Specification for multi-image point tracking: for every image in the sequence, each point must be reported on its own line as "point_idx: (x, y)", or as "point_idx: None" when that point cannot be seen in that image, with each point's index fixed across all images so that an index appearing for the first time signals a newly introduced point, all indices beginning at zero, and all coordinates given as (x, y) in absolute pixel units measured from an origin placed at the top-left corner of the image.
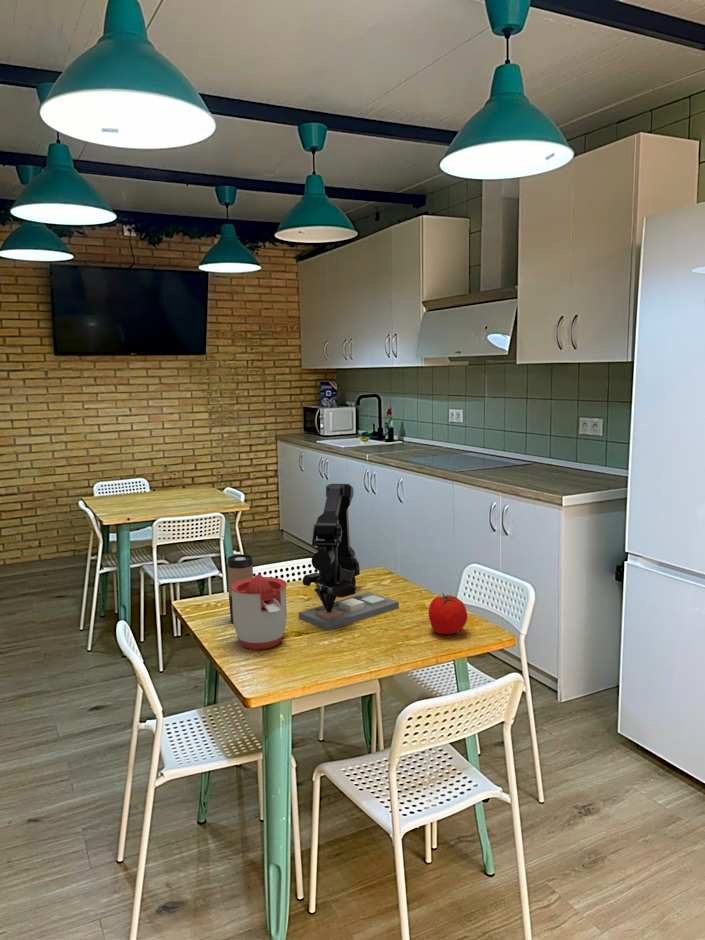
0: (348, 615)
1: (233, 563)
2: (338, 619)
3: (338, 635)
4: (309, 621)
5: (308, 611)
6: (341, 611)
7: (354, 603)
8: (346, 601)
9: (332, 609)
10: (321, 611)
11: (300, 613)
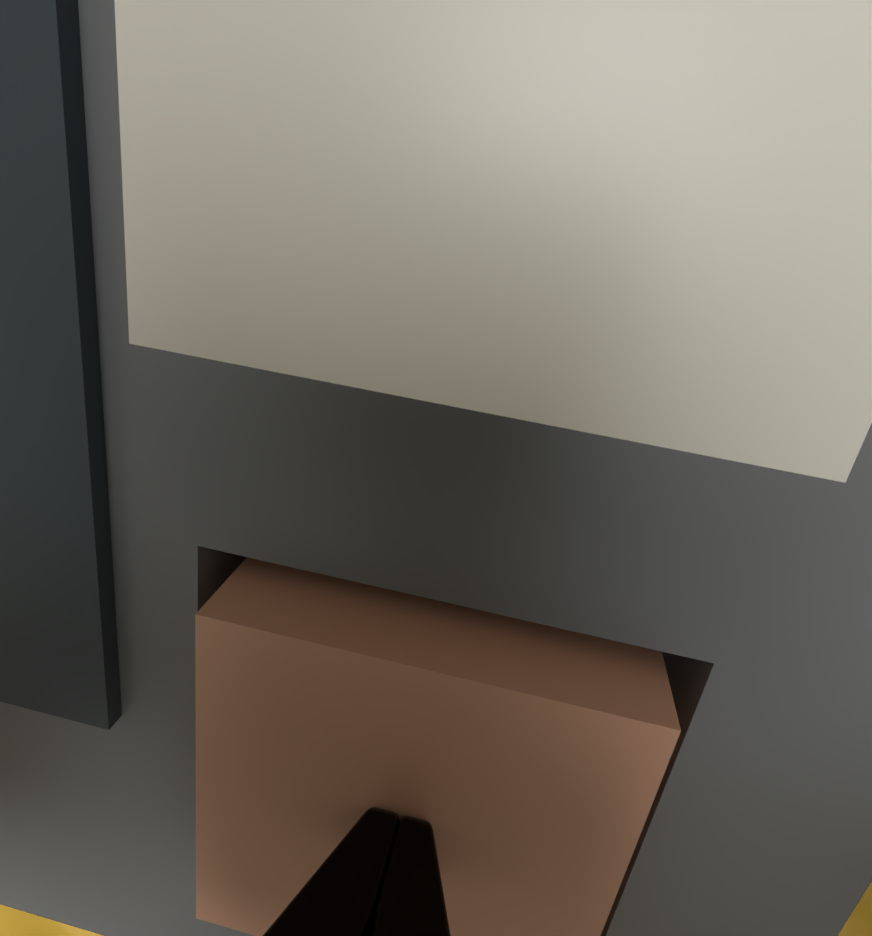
0: (861, 656)
1: None
2: (776, 923)
3: (867, 920)
4: None
5: (14, 815)
6: (502, 519)
7: (806, 43)
8: (280, 68)
9: (331, 689)
10: (249, 868)
11: (7, 895)
